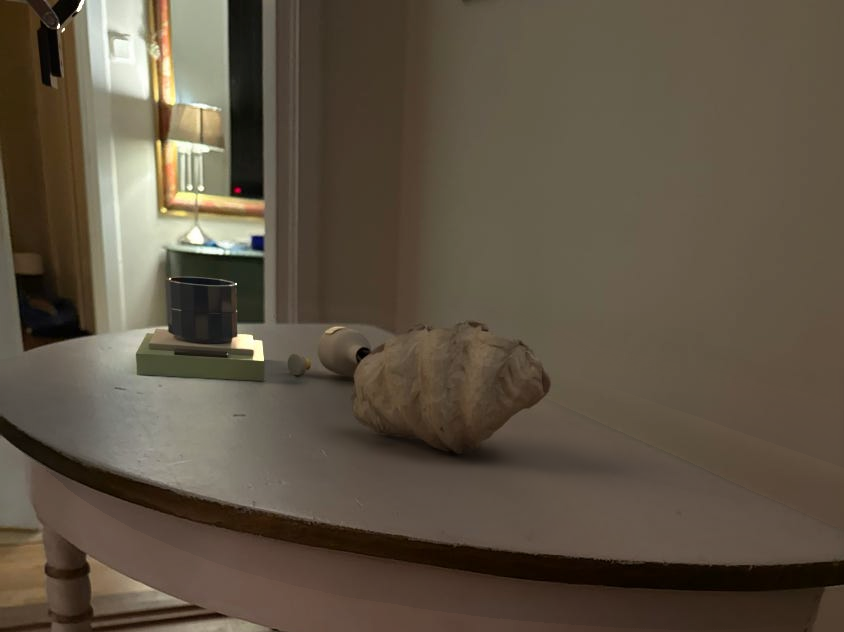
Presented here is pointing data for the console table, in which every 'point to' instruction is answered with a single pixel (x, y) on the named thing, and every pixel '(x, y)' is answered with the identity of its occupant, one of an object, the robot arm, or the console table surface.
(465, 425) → the seashell
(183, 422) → the console table surface
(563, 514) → the console table surface
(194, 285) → the cup
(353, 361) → the jar with stopper
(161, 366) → the scale
